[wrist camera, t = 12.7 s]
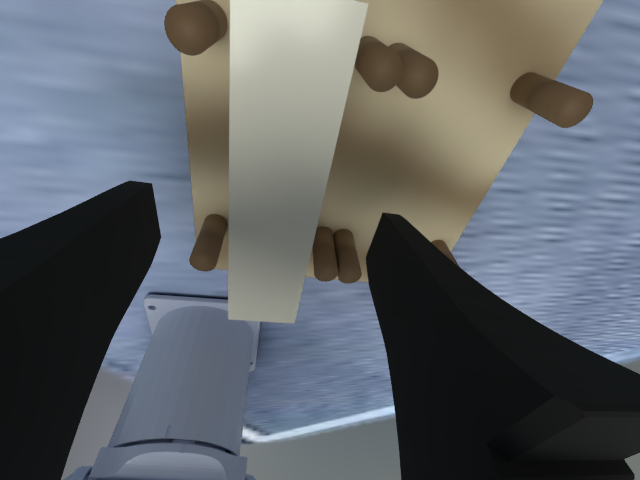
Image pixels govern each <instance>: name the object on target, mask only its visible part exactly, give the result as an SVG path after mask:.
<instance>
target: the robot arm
mask: <svg viewBox="0 0 640 480" xmlns="http://www.w3.org/2000/svg"><path fill="white" fill-rule="evenodd" d="M160 239H161V234H160V228H159V222H158V216H157V210H156V205H155V199H154V193H153V187H152V183H144V182H136V181H128V182H125V183H123V184H120V185H118V186H116V187H114V188H112V189H109V190H107V191H105V192H103V193H101V194H99V195H97V196H95V197H93V198H91V199H89V200H87V201H85V202H83V203H81V204H79V205H76V206H74V207H72V208H70V209H68V210H66V211H64V212H62V213H60V214H57V215H55V216H53V217H50V218H48V219H46V220H44V221H41V222H39V223H37V224H34V225H32V226H30V227H28V228H25V229H23V230H21V231H18V232H16V233H13V234H11V235H8V236H6V237H3V238H0V480H61V477H62V474H63V471H64V468H65V464H66V461H67V458H68V455H69V452H70V449H71V446H72V443H73V440H74V437H75V434H76V431H77V429H78V425H79V423H80V420H81V417H82V414H83V411H84V408H85V406H86V403H87V401H88V398H89V395H90V393H91V390H92V387H93V385H94V382H95V379H96V377H97V374H98V372H99V369H100V367H101V364H102V362H103V359H104V357H105V354H106V352H107V349H108V347H109V344H110V342H111V340H112V338H113V336H114V334H115V332H116V330H117V327H118V326H119V324H120V322H121V320H122V318H123V316H124V314H125V313H126V311H127V309H128V307H129V305H130V303H131V302H132V300H133V298H134V296H135V294H136V292H137V291H138V289H139V287H140V285H141V283H142V281H143V279H144V278H145V276H146V274H147V272H148V270H149V268H150V266H151V264H152V261H153V259H154V256H155V254H156V251H157V248H158V245H159V242H160ZM366 266H367V275H368V282H369V287H370V291H371V294H372V298H373V302H374V306H375V309H376V313H377V317H378V321H379V324H380V328H381V332H382V335H383V339H384V343H385V348H386V352H387V358H388V364H389V371H390V377H391V384H392V391H393V399H394V406H395V414H396V424H397V433H398V441H399V442H398V443H399V452H400V467H401V480H634V473H633V472H632V470H631V469H630V468H629V466H628V465H627V463H626V462H625V460H624V459H625V458H628V457H630V456H632V455H635V454H637V453H640V374H638V373H636V372H634V371H632V370H630V369H627V368H625V367H623V366H621V365H619V364H617V363H615V362H613V361H611V360H609V359H606V358H604V357H602V356H600V355H598V354H596V353H594V352H592V351H590V350H588V349H586V348H584V347H582V346H580V345H578V344H577V343H575V342H573V341H571V340H569V339H567V338H565V337H563V336H562V335H560V334H558V333H556V332H554V331H553V330H551V329H549V328H547V327H546V326H544V325H542V324H540V323H539V322H537V321H535V320H534V319H532V318H530V317H529V316H527V315H526V314H524V313H522V312H521V311H519V310H518V309H516V308H514V307H513V306H511V305H510V304H508V303H507V302H505V301H504V300H502V299H501V298H499V297H498V296H497V295H495V294H494V293H492V292H491V291H490V290H488V289H487V288H485V287H484V286H483V285H481V284H480V283H478V282H477V281H476V280H475V279H473V278H472V277H471V276H469V275H468V274H467V273H466V272H465V271H463V270H462V269H461V268H460V267H458V266H457V265H456V264H455V263H454V262H453V261H451V260H450V259H449V258H448V257H447V256H446V255H444V254H443V253H442V252H441V251H440V250H439V249H438V248H437V247H436V246H435V245H433V244H432V243H431V242H430V241H429V240H428V239H427V238H426V237H425V236H424V235H423V234H422V233H420V232H419V231H418V230H417V229H416V228H415V227H414V226H413V225H412V224H411V223H410V222H408V221H407V220H406V219H405V218H404V217H402V216H401V215H399V214H391V213H382V215H381V218H380V221H379V223H378V226H377V229H376V231H375V234H374V237H373V239H372V242H371V244H370V247H369V250H368V252H367V255H366ZM143 303H144V307H145V310H146V314H147V318H148V322H149V325H150V329H151V333H152V338H151V340H150V343H149V345H148V348H147V350H146V353H145V355H144V358H143V360H142V363H141V365H140V368H139V370H138V372H137V375H136V377H135V380H134V382H133V385H132V387H131V390H130V392H129V395H128V397H127V400H126V402H125V405H124V407H123V409H122V412H121V414H120V417H119V419H118V422H117V424H116V427H115V429H114V432H113V434H112V437H111V439H110V442H109V444H108V447H102V448H101V449H100V451H99V454H98V456H97V458H96V461H95V463H94V465H93V468H92V466H81V467H79V468H77V469H76V470H75V471H74V472H73V473H72V474H71V475H69V476H68V477H66V478H65V479H64V480H255V478H254V476H252V475H249V474H246V467H247V457H241V456H239V455H240V447H241V438H242V430H243V421H244V413H245V405H246V396H247V388H248V379H249V372H252V371H254V370H255V366H256V357H257V348H258V338H259V329H260V321H245V320H229V319H228V300H223V299H209V298H195V297H181V296H167V295H147V296H146V297H145V298H144V300H143Z"/></svg>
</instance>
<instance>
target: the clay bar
mask: <svg viewBox="0 0 640 480" xmlns="http://www.w3.org/2000/svg"><path fill="white" fill-rule="evenodd" d="M367 8H368V3H364V2H361V1H357V0H230V93H229V248H228V319H229V320H245V321H262V322H278V323H294V324H295V320H296V316H297V311H298V307H299V303H300V298H301V294H302V290H303V285H304V281H305V277H306V272H307V268H308V264H309V259H310V255H311V251H312V246H313V242H314V238H315V233H316V229H317V225H318V220H319V216H320V212H321V207H322V203H323V199H324V194H325V190H326V186H327V181H328V177H329V173H330V168H331V164H332V160H333V155H334V151H335V147H336V142H337V138H338V134H339V130H340V125H341V121H342V117H343V112H344V108H345V104H346V99H347V95H348V91H349V86H350V82H351V78H352V73H353V69H354V65H355V60H356V56H357V52H358V47H359V43H360V39H361V34H362V30H363V26H364V21H365V17H366V13H367Z"/></svg>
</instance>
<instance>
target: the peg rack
mask: <svg viewBox="0 0 640 480" xmlns="http://www.w3.org/2000/svg"><path fill="white" fill-rule="evenodd" d="M357 1H361V2H364V3H368V8H367V13H366V17H365V21H364V26H363V30H362V34H361V39H360V43H359V47H358V52H357V56H356V60H355V65H354V69H353V73H352V78H351V82H350V86H349V91H348V95H347V99H346V104H345V108H344V112H343V117H342V121H341V125H340V130H339V134H338V138H337V142H336V147H335V151H334V155H333V160H332V164H331V168H330V173H329V177H328V181H327V186H326V190H325V194H324V199H323V203H322V207H321V212H320V216H319V220H318V225H317V229H316V233H315V238H314V242H313V246H312V251H311V255H310V259H309V264H308V268H307V272H306V277H313V278H317V279H318V280H320V281H331V280H333V279H336V280H340V281H341V282H343V283H354V282H356V281H360V282H368V275H367V266H366V255H367V252H368V250H369V247H370V244H371V242H372V239H373V237H374V234H375V231H376V229H377V226H378V223H379V221H380V218H381V215H382V213H391V214H399V215H401V216H402V217H404V218H405V219H406V220H407V221H408V222H410V223H411V224H412V225H413V226H414V227H415V228H416V229H417V230H418V231H419V232H420V233H422V234H423V235H424V236H425V237H426V238H427V239H428V240H429V241H430V242H431V243H432V244H433V245H435V246H436V247H437V248H438V249H439V250H440V251H441V252H442V253H443V254H444V255H446V256H447V257H448V258H449V259H450V260H451V261H453V262H454V263H455V264H456V265H457V266H458V264H457V262H456V260H455V259H454V257H453V255H452V253H451V251H452V249H453V247H454V246H455V244H456V242H457V241H458V239H459V237H460V236H461V234H462V232H463V231H464V229H465V228H466V226H467V224H468V223H469V221H470V219H471V218H472V216H473V214H474V213H475V211H476V209H477V208H478V206H479V204H480V203H481V201H482V200H483V198H484V196H485V195H486V193H487V191H488V190H489V188H490V186H491V185H492V183H493V181H494V180H495V178H496V176H497V175H498V173H499V171H500V170H501V168H502V167H503V165H504V163H505V162H506V160H507V158H508V157H509V155H510V153H511V152H512V150H513V148H514V147H515V145H516V143H517V142H518V140H519V139H520V137H521V135H522V134H523V132H524V130H525V129H526V127H527V125H528V124H529V122H530V120H531V119H532V117H533V115H534V114H537V115H539V116H541V117H543V118H545V119H547V120H548V121H550V122H552V123H554V124H556V125H558V126H559V127H562V128H568V127H572V126H574V125H576V124H578V123H579V122H581V121H582V120H583V119H584V118H585V117H586V116H587V115H588V113H589V112H590V110H591V108H592V105H593V98H592V96H591V94H589V93H587V92H584V91H582V90H579V89H576V88H574V87H571V86H568V85H566V84H563V83H560V82H558V81H555V79H556V78H557V76H558V74H559V73H560V71H561V69H562V68H563V66H564V64H565V63H566V61H567V59H568V58H569V56H570V54H571V53H572V51H573V49H574V48H575V46H576V45H577V43H578V41H579V40H580V38H581V36H582V35H583V33H584V31H585V30H586V28H587V26H588V25H589V23H590V21H591V20H592V18H593V17H594V15H595V13H596V12H597V10H598V8H599V7H600V5H601V3H602V2H603V0H357ZM176 4H177V5H175V6H173V7H171V8H170V9H169V10H168V12H167V14H166V16H165V22H164V24H165V31H166V34H167V37H168V39H169V40H170V42H171V43H172V45H173V46H174V47H175V48H176V49H177V50H179V51H180V52H181V64H182V76H183V88H184V100H185V113H186V125H187V137H188V149H189V161H190V173H191V185H192V197H193V209H194V221H195V233H196V243H195V246H194V248H193V251H192V254H191V256H190V259H189V261H190V264H191V265H192V266H193V267H194V268H195V269H197V270H200V271H211V270H213V269H220V270H228V248H229V93H230V0H176ZM458 267H459V266H458Z"/></svg>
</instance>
